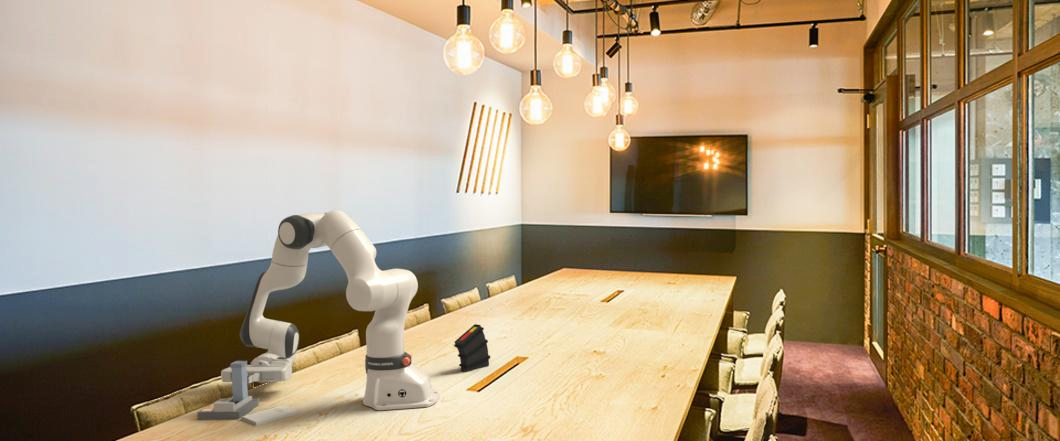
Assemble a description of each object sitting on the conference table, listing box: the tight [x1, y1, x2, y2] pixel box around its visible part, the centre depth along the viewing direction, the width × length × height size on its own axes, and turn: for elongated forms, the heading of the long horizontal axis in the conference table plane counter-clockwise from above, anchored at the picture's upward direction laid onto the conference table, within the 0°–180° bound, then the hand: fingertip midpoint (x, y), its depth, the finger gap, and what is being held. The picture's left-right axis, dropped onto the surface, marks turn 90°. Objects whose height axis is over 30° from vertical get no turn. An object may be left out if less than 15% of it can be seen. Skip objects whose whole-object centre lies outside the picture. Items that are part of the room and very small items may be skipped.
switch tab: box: [229, 360, 249, 402], centre depth 197 cm, size 3×3×11 cm
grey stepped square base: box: [196, 395, 260, 420], centre depth 193 cm, size 12×12×4 cm
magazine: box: [453, 323, 491, 373], centre depth 234 cm, size 4×13×15 cm, turn 136°
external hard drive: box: [240, 404, 299, 427], centre depth 189 cm, size 2×8×12 cm
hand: (244, 380), depth 200 cm, fingers closed
